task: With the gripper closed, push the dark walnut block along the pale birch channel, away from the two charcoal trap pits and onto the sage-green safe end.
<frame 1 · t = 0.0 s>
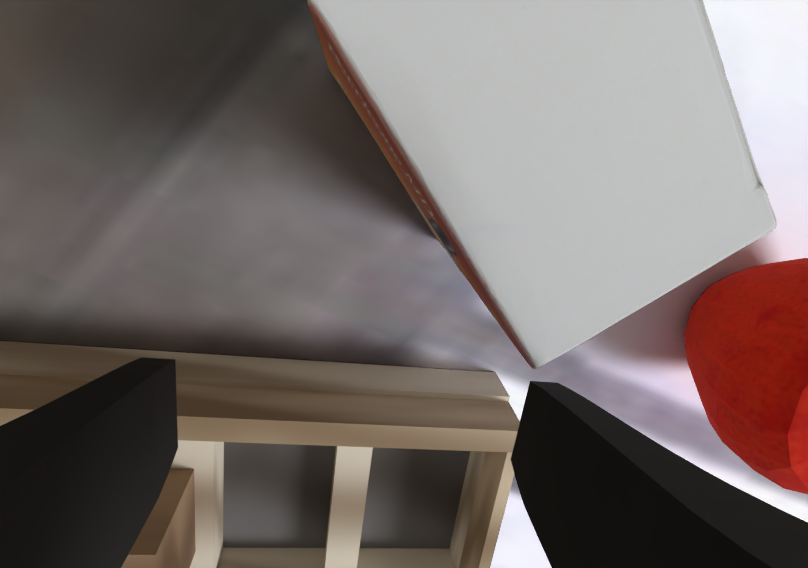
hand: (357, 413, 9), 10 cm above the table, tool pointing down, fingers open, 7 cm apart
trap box: (225, 477, 22), on the table
apple: (727, 319, 22), on the table
small box: (447, 122, 18), on the table
walnut block: (138, 510, 19), point 2 cm above the table, touching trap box
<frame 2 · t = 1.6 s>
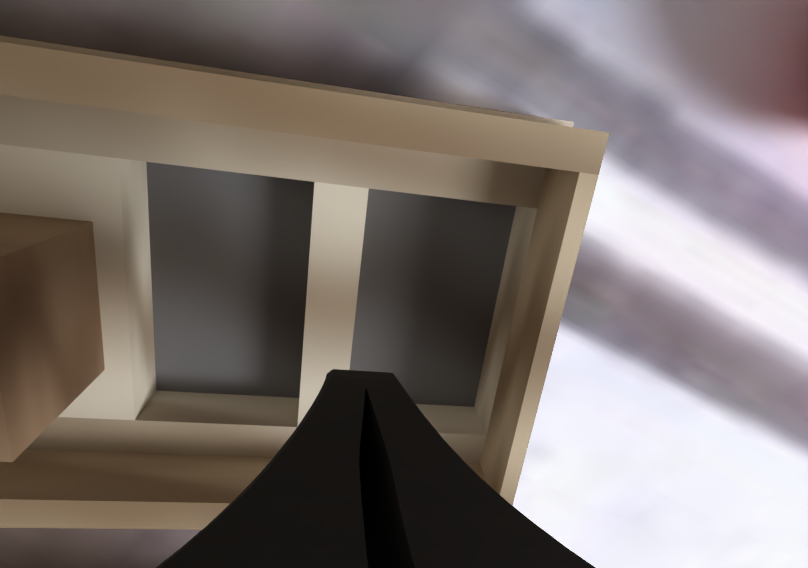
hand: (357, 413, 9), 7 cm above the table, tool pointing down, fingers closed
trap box: (155, 279, 15), on the table
walnut block: (11, 292, 13), point 2 cm above the table, touching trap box
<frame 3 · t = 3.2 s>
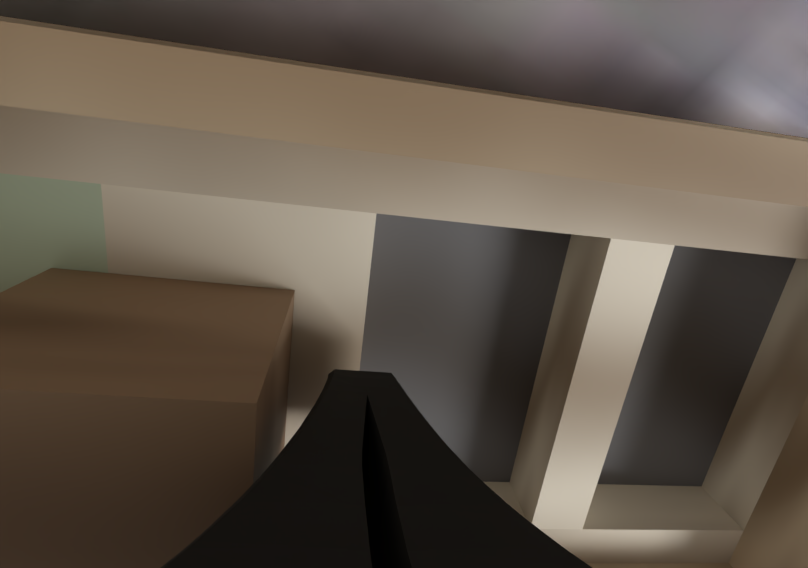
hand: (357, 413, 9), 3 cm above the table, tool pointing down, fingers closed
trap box: (356, 348, 12), on the table
walnut block: (179, 379, 10), point 2 cm above the table, touching gripper
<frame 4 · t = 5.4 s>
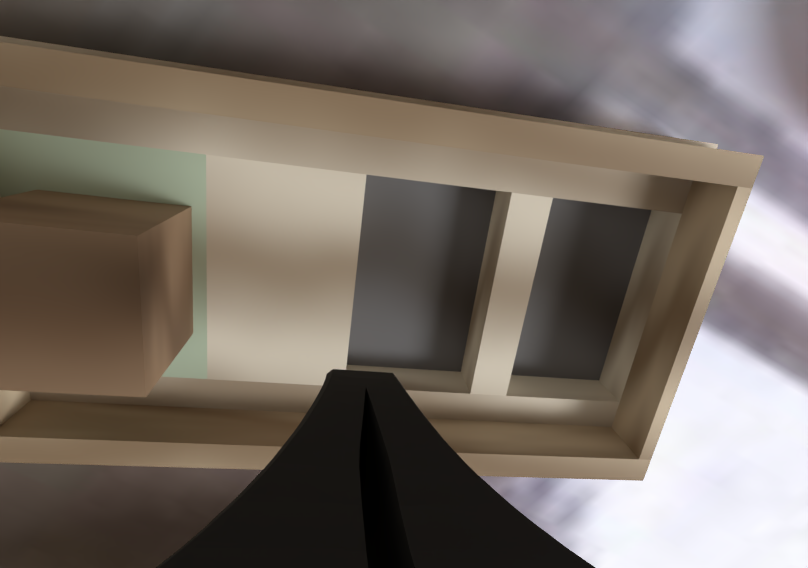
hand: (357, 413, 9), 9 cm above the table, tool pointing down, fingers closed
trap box: (354, 271, 18), on the table
walnut block: (120, 266, 15), point 2 cm above the table, touching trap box
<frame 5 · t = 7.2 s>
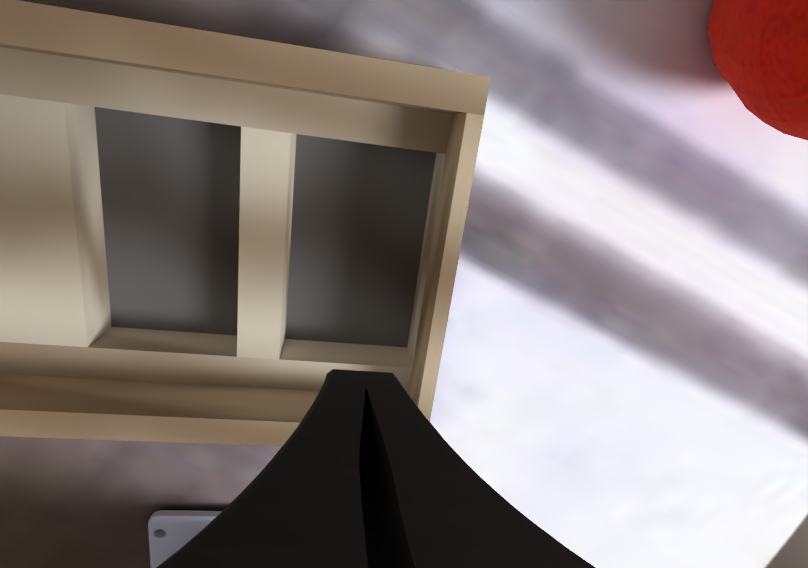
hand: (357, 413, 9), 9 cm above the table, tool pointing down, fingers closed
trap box: (107, 222, 17), on the table
apple: (761, 23, 17), on the table
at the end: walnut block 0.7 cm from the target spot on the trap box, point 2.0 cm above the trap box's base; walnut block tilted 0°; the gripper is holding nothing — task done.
